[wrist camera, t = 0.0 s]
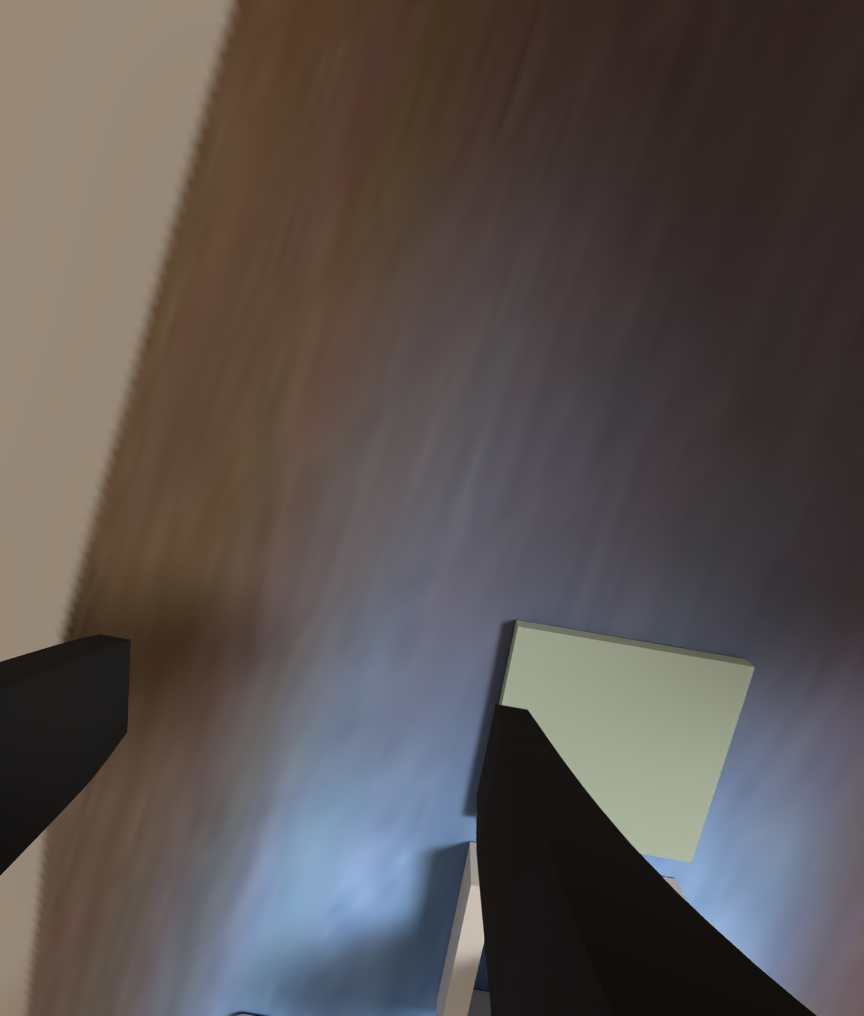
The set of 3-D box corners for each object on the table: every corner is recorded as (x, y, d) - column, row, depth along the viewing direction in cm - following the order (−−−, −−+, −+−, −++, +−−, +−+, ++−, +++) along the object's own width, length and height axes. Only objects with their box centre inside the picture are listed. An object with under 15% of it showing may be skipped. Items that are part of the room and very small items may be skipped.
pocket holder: (626, 1034, 23) (641, 1092, 21) (437, 999, 24) (435, 1052, 22) (676, 879, 22) (697, 926, 20) (469, 841, 22) (470, 885, 20)
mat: (685, 850, 21) (691, 862, 21) (476, 812, 21) (476, 824, 21) (746, 659, 19) (755, 667, 19) (516, 619, 20) (518, 626, 19)
